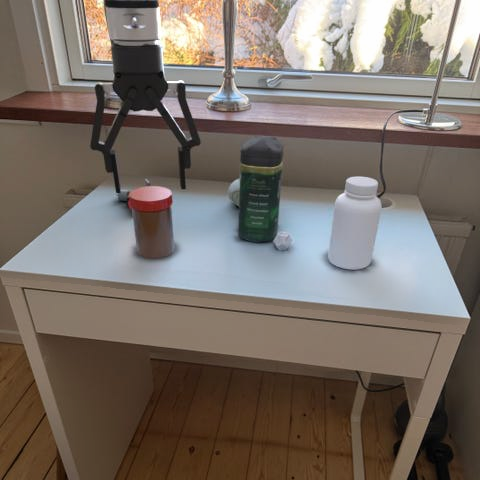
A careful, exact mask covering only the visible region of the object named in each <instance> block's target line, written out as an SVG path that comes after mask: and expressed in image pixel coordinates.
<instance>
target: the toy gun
mask: <svg viewBox="0 0 480 480" xmlns="http://www.w3.org/2000/svg"><path fill="white" fill-rule="evenodd" d="M144 182H145V187H146V186H151V182H150V181H149V179H148V178H145V179H144ZM131 191H132V190H129V189H121V193H115V196H117V199H118V202H126V205H127V207H129V209H130V211H131V212H132V207H131V205H130V201H129V193H130V192H131Z"/></svg>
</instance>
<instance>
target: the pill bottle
mask: <svg viewBox="0 0 480 480" xmlns="http://www.w3.org/2000/svg"><path fill="white" fill-rule="evenodd" d="M378 187H379V182H378V181H377V180H376V179H374V178H372V177H367V176H360V175H359V176H357V175H356V176H350V177H348V178H347V179H346V180H345V186H344V192H343V193H340V194H339V195H338V196H337V198H336V199H335V202H334V207H333V214H332V221H331V229H330V238H329V245H328V253H327V257H328V261H329V262H330V263H331V265H333V266H335V267H338V268H341V269H344V270H356V271H357V270H362V269H365V268H367V267H368V266H370V264H371V263H372V258H373V255H374V249H375V244H376V239H377V234H378V229H379V224H380V219H381V213H382V208H383V206H382V201H381V199H380V198H379V197H378V196H376V195H377V192H378V189H379V188H378Z"/></svg>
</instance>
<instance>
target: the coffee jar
mask: <svg viewBox="0 0 480 480" xmlns="http://www.w3.org/2000/svg"><path fill="white" fill-rule="evenodd" d="M284 148H285V147H284V144H283V143H282V142H281V141H280V140H278V139H277V138H276V137H274V136H265V135H264V136H262V135H255V136H254V137H252V138H250V139H248V140H247V141H245V142H244V143H243V145H242V146H241V148H240V150H239V151H240V158H239V178H240V193H239V206H238V220H237V221H238V222H237V223H238V225H237V234H238V236H239V237H240V238H241V239H243V240H246V241H248V242H252V243H261V242H270V241H273V240H274V239H275V237H276V236H277V234H278V228H279V227H278V226H279V214H280V204H281V192H282V183H283V182H282V181H283V180H282V179H283V166H284V165H283V164H284Z"/></svg>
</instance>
